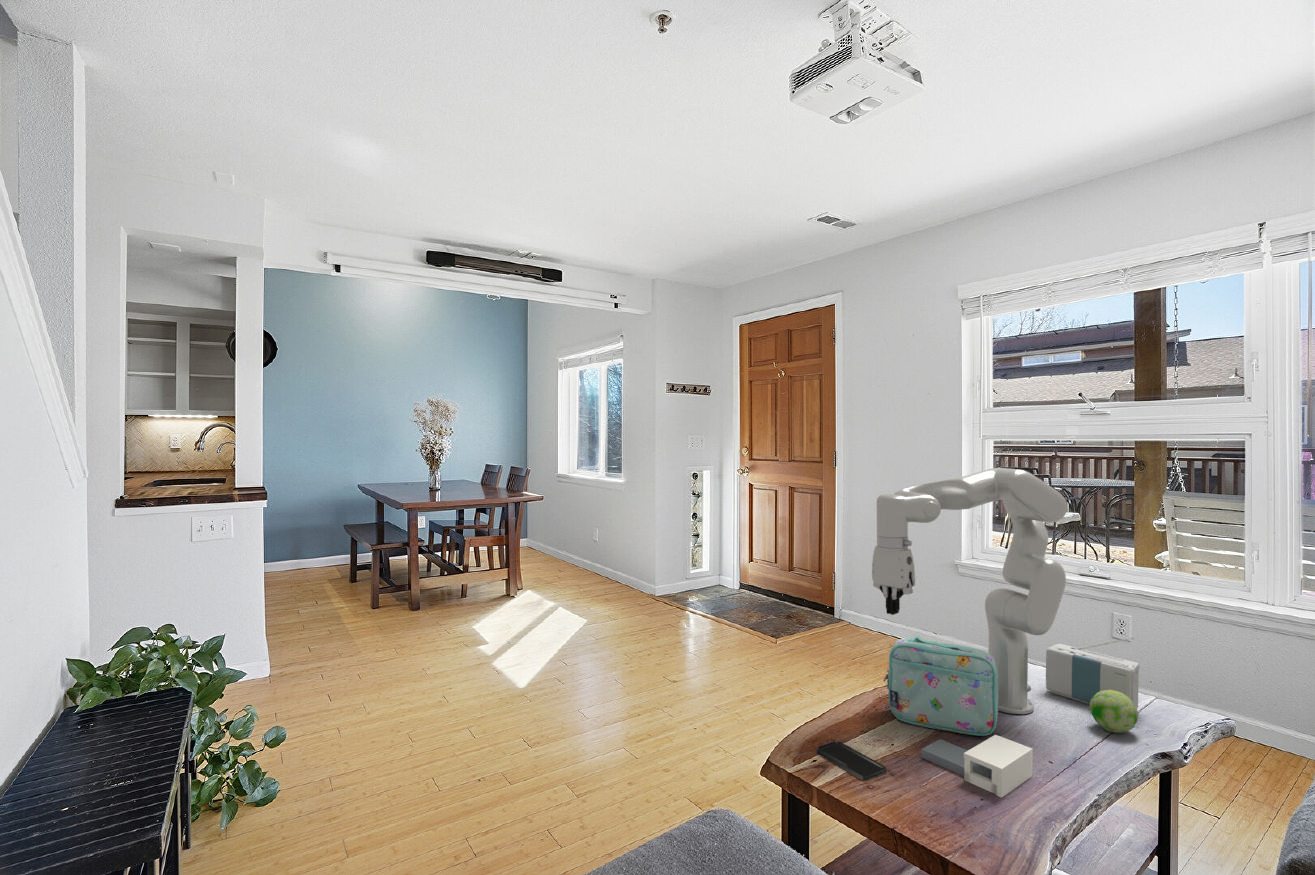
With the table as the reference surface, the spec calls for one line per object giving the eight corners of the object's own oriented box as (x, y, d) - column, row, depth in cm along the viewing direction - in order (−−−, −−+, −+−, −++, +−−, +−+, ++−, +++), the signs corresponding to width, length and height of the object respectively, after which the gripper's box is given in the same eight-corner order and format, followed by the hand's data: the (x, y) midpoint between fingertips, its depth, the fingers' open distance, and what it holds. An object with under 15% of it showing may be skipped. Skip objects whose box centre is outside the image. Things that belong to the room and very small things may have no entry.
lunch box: (881, 721, 167) (882, 639, 167) (887, 706, 176) (888, 628, 176) (997, 745, 154) (998, 656, 154) (997, 727, 164) (998, 643, 163)
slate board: (939, 749, 153) (939, 739, 153) (1009, 778, 141) (1009, 767, 141) (921, 759, 148) (921, 749, 148) (991, 790, 136) (992, 779, 136)
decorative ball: (1140, 731, 162) (1141, 691, 162) (1133, 744, 155) (1133, 703, 155) (1094, 718, 169) (1095, 680, 169) (1085, 730, 162) (1085, 691, 162)
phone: (837, 740, 155) (888, 768, 142) (837, 745, 155) (888, 773, 142) (813, 748, 151) (864, 778, 138) (813, 753, 151) (864, 783, 138)
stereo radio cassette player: (1044, 693, 185) (1045, 624, 185) (1056, 686, 190) (1057, 619, 189) (1130, 720, 168) (1131, 644, 168) (1141, 712, 173) (1142, 638, 173)
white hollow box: (995, 760, 147) (995, 734, 147) (1032, 776, 141) (1032, 748, 140) (963, 780, 139) (963, 753, 139) (1001, 798, 132) (1002, 769, 132)
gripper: (927, 544, 162) (927, 617, 163) (875, 537, 174) (875, 604, 175) (910, 548, 158) (911, 623, 158) (858, 540, 170) (859, 609, 170)
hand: (892, 613), depth 166 cm, fingers closed
